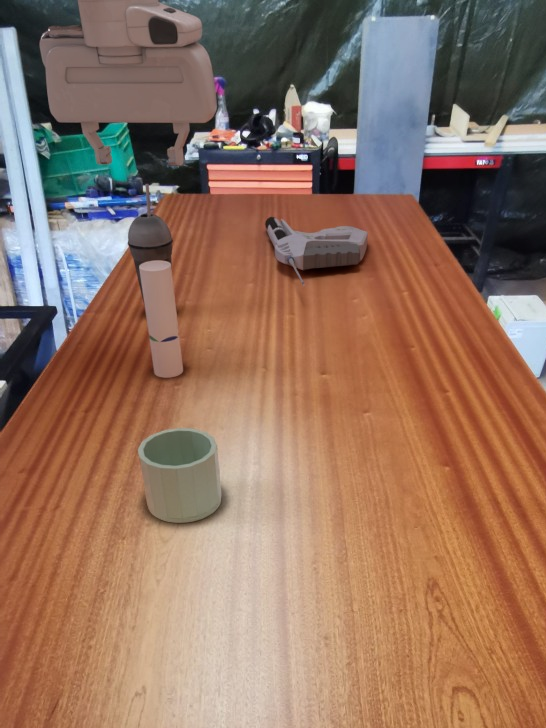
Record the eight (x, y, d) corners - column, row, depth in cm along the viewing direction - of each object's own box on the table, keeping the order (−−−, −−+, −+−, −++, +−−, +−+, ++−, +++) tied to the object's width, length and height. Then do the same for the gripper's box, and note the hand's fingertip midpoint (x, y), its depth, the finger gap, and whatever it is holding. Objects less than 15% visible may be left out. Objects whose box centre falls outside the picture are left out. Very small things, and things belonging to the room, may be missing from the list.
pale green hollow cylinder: (138, 520, 81) (128, 466, 77) (158, 479, 88) (149, 426, 83) (213, 525, 80) (207, 470, 76) (227, 483, 87) (223, 429, 82)
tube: (159, 364, 111) (145, 259, 101) (186, 366, 110) (175, 261, 100) (150, 376, 108) (134, 270, 98) (178, 378, 107) (165, 271, 97)
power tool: (351, 234, 162) (261, 237, 160) (353, 208, 159) (261, 210, 157) (405, 296, 128) (291, 301, 126) (408, 264, 124) (291, 269, 122)
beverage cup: (164, 302, 130) (148, 174, 117) (189, 313, 126) (175, 182, 113) (130, 313, 126) (109, 183, 113) (154, 325, 122) (136, 191, 109)
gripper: (23, 28, 82) (52, 168, 92) (200, 25, 79) (211, 171, 88) (47, 23, 87) (72, 157, 96) (214, 20, 84) (224, 159, 93)
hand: (140, 164), depth 92 cm, fingers open, 8 cm apart
